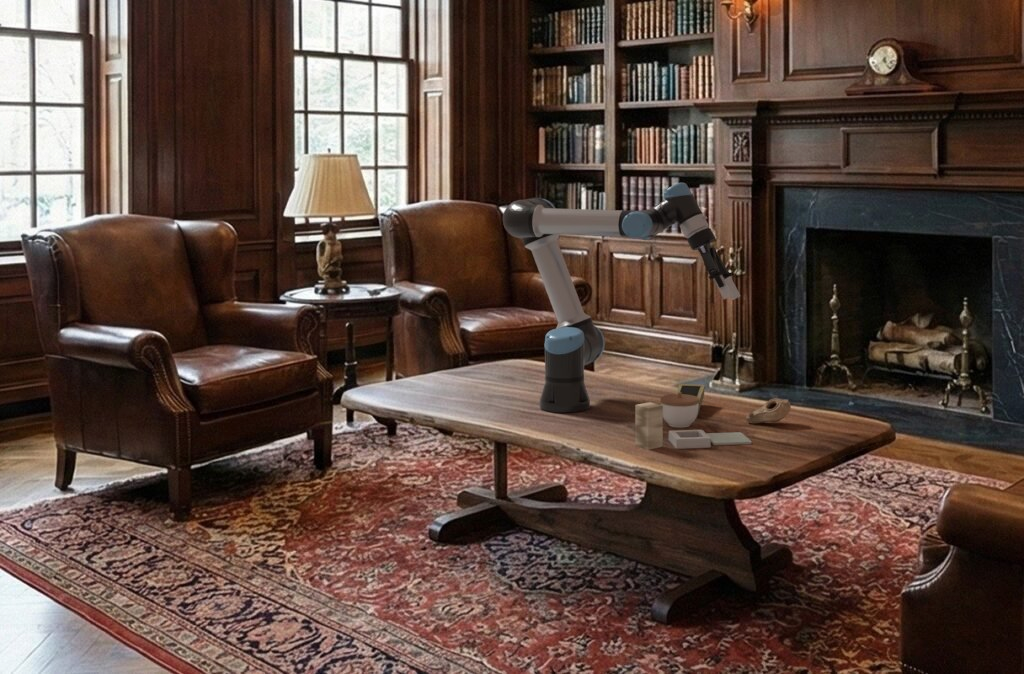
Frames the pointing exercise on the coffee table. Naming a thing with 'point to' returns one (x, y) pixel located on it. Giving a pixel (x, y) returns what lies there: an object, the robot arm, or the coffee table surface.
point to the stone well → (689, 439)
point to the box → (692, 391)
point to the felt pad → (728, 438)
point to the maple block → (648, 425)
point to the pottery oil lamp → (770, 411)
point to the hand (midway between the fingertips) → (732, 297)
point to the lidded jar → (679, 409)
